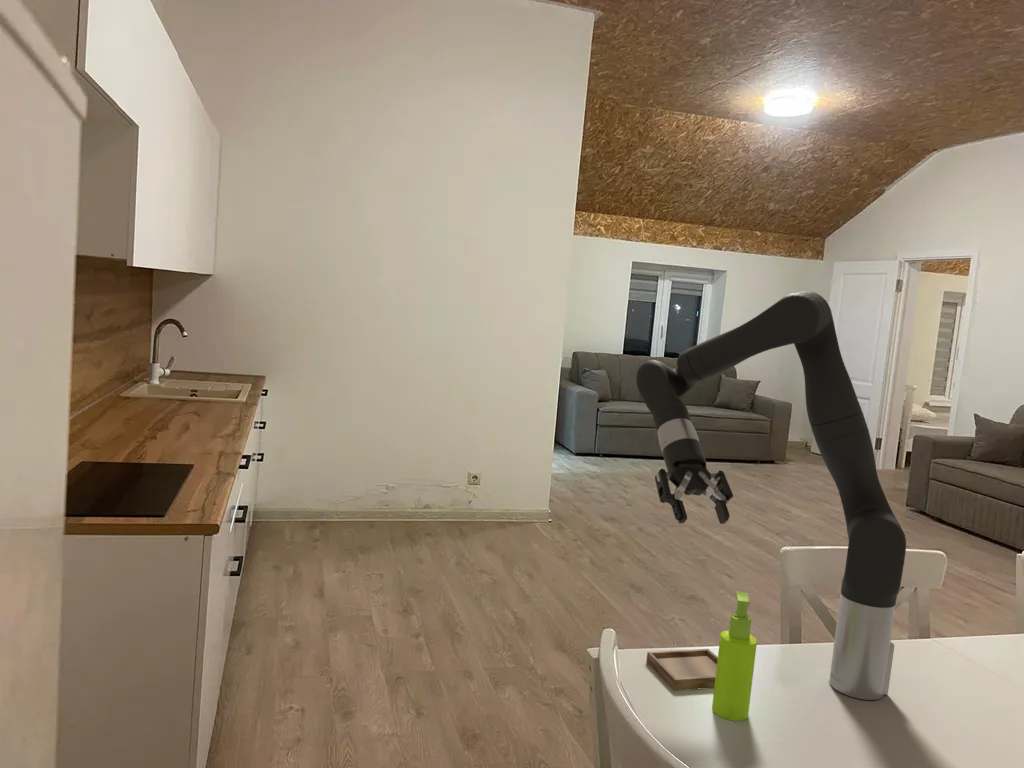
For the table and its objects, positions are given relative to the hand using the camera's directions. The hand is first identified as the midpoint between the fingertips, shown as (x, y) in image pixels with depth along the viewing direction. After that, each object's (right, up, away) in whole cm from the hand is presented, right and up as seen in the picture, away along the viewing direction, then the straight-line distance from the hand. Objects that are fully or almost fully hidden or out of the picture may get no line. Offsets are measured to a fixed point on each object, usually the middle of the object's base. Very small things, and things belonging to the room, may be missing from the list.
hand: (704, 521), depth 144 cm
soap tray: (-2, -28, +2) cm, 29 cm away
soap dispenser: (+2, -30, -11) cm, 32 cm away
